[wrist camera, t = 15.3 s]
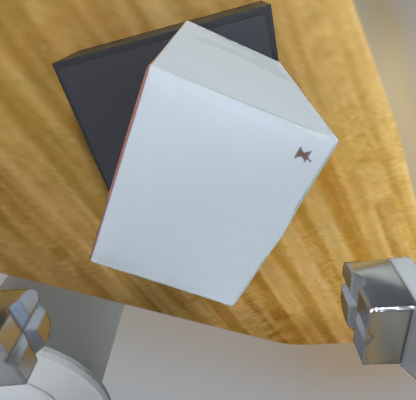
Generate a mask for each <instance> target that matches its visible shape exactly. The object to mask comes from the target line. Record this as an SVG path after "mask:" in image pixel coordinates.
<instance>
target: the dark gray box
mask: <svg viewBox="0 0 416 400" xmlns="http://www.w3.org/2000/svg"><path fill="white" fill-rule="evenodd" d="M190 22H192V23H194V24H196V25H199V26H201V27H203V28H205V29H208V30H210V31H212V32H214V33H216V34H218V35H221V36H223V37H225V38H227V39H229V40H232V41H234V42H236V43H238V44H240V45H243V46H245V47H247V48H249V49H251V50H254V51H256V52H258V53H260V54H263V55H265V56H267V57H269V58H271V59H274V60H276V61H278V54H277V47H276V40H275V32H274V25H273V18H272V10H271V5H270V4H268V3H265V2H263V1H259V2H256V3H252V4H248V5H245V6H241V7H238V8H234V9H230V10H227V11H223V12H219V13H216V14H212V15H208V16H205V17H201V18H197V19H194V20H190ZM184 23H185V22H183V23H179V24H176V25H172V26H168V27H165V28H161V29H157V30H154V31H150V32H146V33H143V34H139V35H135V36H132V37H128V38H125V39H121V40H117V41H114V42H110V43H106V44H103V45H99V46H95V47H92V48H88V49H84V50H81V51H78V52H76V53H73V54H71V55H69V56H67V57H65V58H63V59H61V60H59V61H57V62H55V63H53V64H52V65H53V67H54V70H55V72H56V74H57V76H58V79H59V81H60V83H61V85H62V88H63V90H64V92H65V94H66V97H67V99H68V101H69V103H70V106H71V108H72V110H73V112H74V115H75V117H76V119H77V121H78V124H79V126H80V128H81V130H82V133H83V135H84V137H85V139H86V142H87V144H88V146H89V148H90V151H91V153H92V155H93V157H94V160H95V162H96V164H97V166H98V169H99V171H100V173H101V175H102V178H103V180H104V182H105V184H106V187H107V189H108V191H110V187H111V184H112V181H113V178H114V174H115V171H116V167H117V164H118V161H119V157H120V154H121V151H122V147H123V144H124V140H125V137H126V134H127V130H128V127H129V124H130V121H131V117H132V114H133V111H134V107H135V104H136V101H137V97H138V94H139V91H140V88H141V85H142V81H143V78H144V75H145V72H146V69H147V67H148V65H149V64H150V63H151V62H152V61H153V60H154V59H155V58H156V57H157V56H158V54H159V53H160V52H161V51H162V50H163V48H164V47H165V46H166V45H167V44H168V42H169V41H170V40H171V38H172V37H173V36H174V35H175V34H176V33H177V31H178V30H179V29H180V28H181V26H182V25H183V24H184ZM278 62H279V61H278Z"/></svg>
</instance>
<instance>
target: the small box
mask: <svg viewBox="0 0 416 400" xmlns="http://www.w3.org/2000/svg"><path fill="white" fill-rule="evenodd" d="M337 144H338V139H337V138H336V136H335V135H334V134H333V132H332V131H331V130H330V128H329V127H328V126H327V124H326V123H325V122H324V120H323V119H322V118H321V116H320V115H319V114H318V112H317V111H316V110H315V109H314V107H313V106H312V105H311V103H310V102H309V101H308V99H307V98H306V97H305V95H304V94H303V92H302V91H301V90H300V88H299V87H298V86H297V84H296V83H295V81H294V80H293V79H292V77H291V76H290V75H289V74H288V72H287V71H286V70H285V69H284V67H283V66H282V65H281V63H280V62H278V61H276V60H274V59H271V58H269V57H267V56H265V55H263V54H260V53H258V52H256V51H254V50H251V49H249V48H247V47H245V46H243V45H240V44H238V43H236V42H234V41H232V40H229V39H227V38H225V37H223V36H221V35H218V34H216V33H214V32H212V31H210V30H208V29H205V28H203V27H201V26H199V25H196V24H194V23H192V22H190V21H186V22H185V23H184V24H183V25H182V26H181V28H180V29H179V30H178V31H177V33H176V34H175V35H174V36H173V37H172V38H171V40H170V41H169V42H168V44H167V45H166V46H165V47H164V48H163V50H162V51H161V52H160V53H159V54H158V56H157V57H156V58H155V59H154V60H153V61H152V62H151V63H150V64H149V65H148V67H147V69H146V72H145V75H144V78H143V81H142V85H141V88H140V91H139V94H138V97H137V101H136V104H135V107H134V111H133V114H132V117H131V121H130V124H129V127H128V130H127V134H126V137H125V140H124V144H123V147H122V151H121V154H120V157H119V161H118V164H117V167H116V171H115V174H114V178H113V181H112V184H111V187H110V191H109V194H108V198H107V201H106V205H105V208H104V212H103V215H102V219H101V222H100V225H99V228H98V231H97V235H96V238H95V242H94V245H93V249H92V252H91V256H90V260H91V261H92V262H94V263H97V264H100V265H104V266H107V267H110V268H113V269H116V270H119V271H123V272H126V273H129V274H132V275H135V276H138V277H142V278H145V279H148V280H151V281H154V282H157V283H160V284H164V285H167V286H170V287H173V288H176V289H180V290H183V291H186V292H189V293H192V294H195V295H198V296H202V297H205V298H208V299H211V300H214V301H217V302H220V303H223V304H226V305H229V306H233V305H234V304H235V303H236V302H237V301H238V299H239V298H240V297H241V295H242V294H243V292H244V291H245V289H246V288H247V286H248V285H249V283H250V282H251V280H252V279H253V277H254V276H255V274H256V273H257V271H258V270H259V268H260V267H261V265H262V264H263V262H264V261H265V259H266V258H267V256H268V255H269V253H270V252H271V251H272V249H273V248H274V247H275V245H276V244H277V243H278V241H279V240H280V238H281V237H282V235H283V234H284V232H285V231H286V229H287V227H288V225H289V224H290V222H291V221H292V219H293V217H294V215H295V213H296V211H297V209H298V207H299V206H300V204H301V202H302V201H303V199H304V198H305V196H306V194H307V193H308V191H309V189H310V188H311V186H312V185H313V183H314V182H315V180H316V178H317V177H318V175H319V173H320V171H321V170H322V168H323V167H324V165H325V164H326V162H327V161H328V159H329V157H330V156H331V154H332V153H333V151H334V150H335V148H336V146H337Z"/></svg>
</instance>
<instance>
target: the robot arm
mask: <svg viewBox="0 0 416 400" xmlns="http://www.w3.org/2000/svg"><path fill="white" fill-rule="evenodd" d="M342 275H343V277H344V280H345V282H346V283H345V284H344V285H343V286H342V287H341V303H342V310H343V313H344V317H345V320H346V323H347V325H348V326H349V327H351V328H352V329H353V330H354V338H353V341H354V343H355V346H356V349H357V351H358V354H359V356H360V359H361V361H362V364H363V365H369V364H400V363H401V366H402V367H403V368H404V369H405V370H406V371H407V372H408V373H410V374H411V375H412V376H413V377H414V378H415V379H416V264H415V262H414V261H413V259H412V258H410V257H408V256H406V257H396V258H387V259H377V260H366V261H355V262H345V263H344V266H343V273H342ZM39 300H40V297H39V296H38V294H37V292H36V291H35V290H33V289H15V290H0V400H54V399H53V398H52V397H51V396H50V395H48V394H47V393H45V392H44V391H42V390H40V389H38V388H36V387H34V386H31V385H29V384H27V382H28V380H29V378H30V376H31V374H32V372H33V370H34V367H35V365H36V363H37V361H38V360H37V356H36V353H37V352H38V351H39V350H40V349H42V348H43V347H44V346H45V344H46V342H47V340H48V338H49V335H50V327H51V323H50V317H49V315H48V313H47V311H46V310H45V309H43V308H42V307H40V306H39V305H38V303H39Z"/></svg>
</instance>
